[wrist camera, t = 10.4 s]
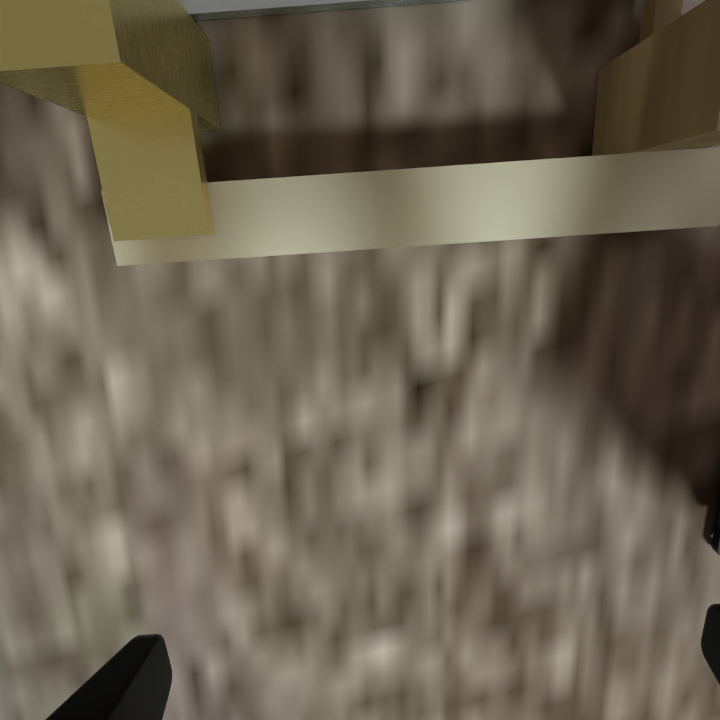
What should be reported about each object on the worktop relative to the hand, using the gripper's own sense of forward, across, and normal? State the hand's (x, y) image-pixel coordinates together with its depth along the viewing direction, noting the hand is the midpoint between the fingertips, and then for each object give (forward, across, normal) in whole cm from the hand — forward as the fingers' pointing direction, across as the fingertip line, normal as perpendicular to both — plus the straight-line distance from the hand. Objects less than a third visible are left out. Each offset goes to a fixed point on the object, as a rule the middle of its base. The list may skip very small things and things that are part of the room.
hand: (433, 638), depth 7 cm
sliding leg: (+12, +7, -12) cm, 18 cm away
